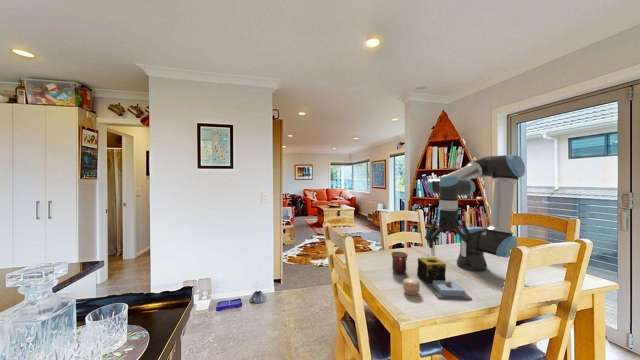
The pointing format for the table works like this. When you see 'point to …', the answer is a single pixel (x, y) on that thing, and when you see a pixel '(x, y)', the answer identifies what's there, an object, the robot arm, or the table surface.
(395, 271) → the mug
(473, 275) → the table surface
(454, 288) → the lid
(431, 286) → the mat
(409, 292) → the bowl
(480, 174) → the robot arm
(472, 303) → the table surface
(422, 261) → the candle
